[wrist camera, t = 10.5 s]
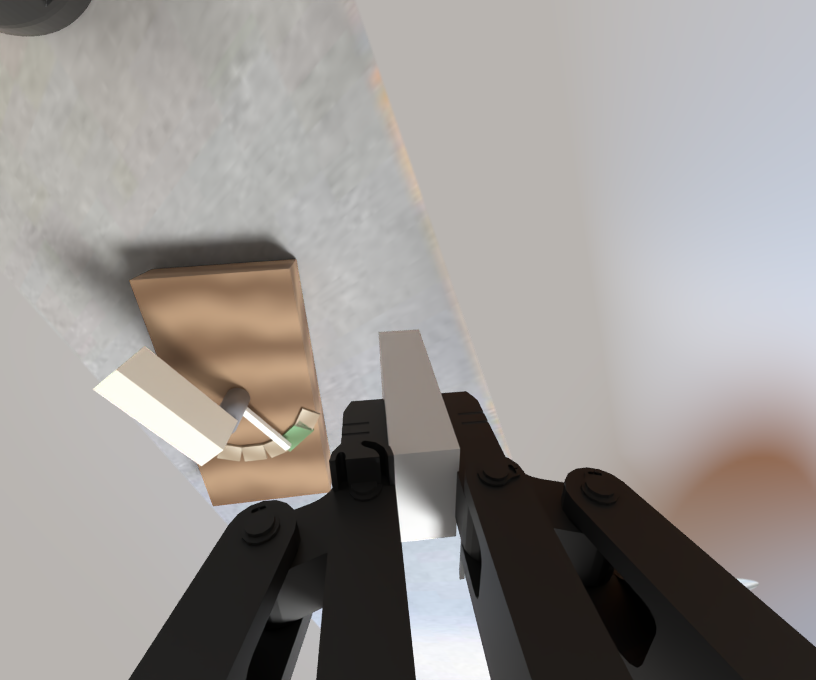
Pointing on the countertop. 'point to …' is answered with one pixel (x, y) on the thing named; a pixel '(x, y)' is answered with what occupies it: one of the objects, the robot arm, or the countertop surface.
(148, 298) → the board
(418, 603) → the countertop surface
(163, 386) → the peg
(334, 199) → the countertop surface
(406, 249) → the countertop surface
